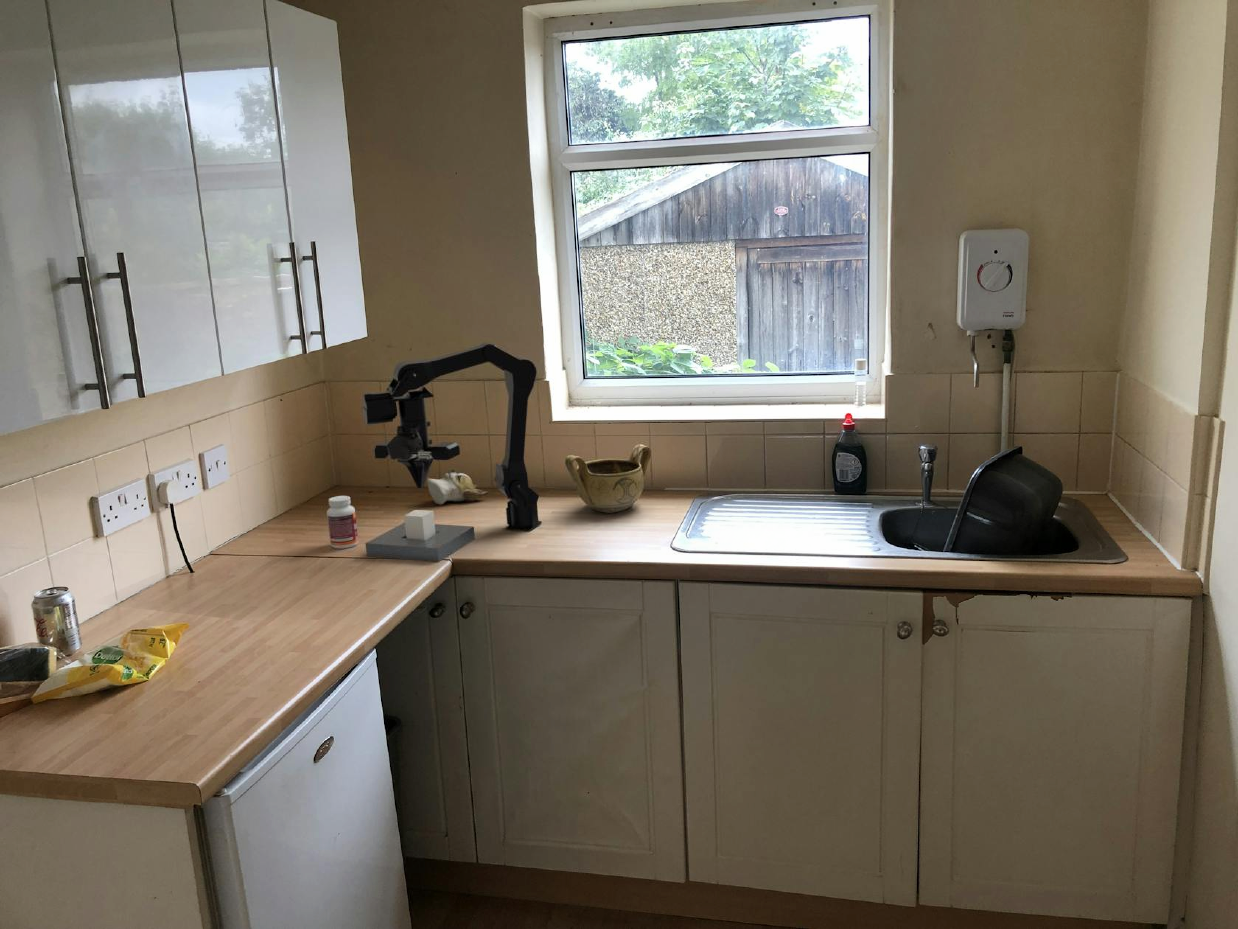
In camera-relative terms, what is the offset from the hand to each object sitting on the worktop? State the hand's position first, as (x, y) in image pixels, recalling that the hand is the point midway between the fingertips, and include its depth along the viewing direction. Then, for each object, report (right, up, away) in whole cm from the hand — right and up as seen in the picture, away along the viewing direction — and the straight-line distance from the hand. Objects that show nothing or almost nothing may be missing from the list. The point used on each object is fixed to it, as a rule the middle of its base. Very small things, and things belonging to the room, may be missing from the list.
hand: (420, 488), depth 222 cm
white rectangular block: (0, -13, 0) cm, 13 cm away
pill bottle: (-18, -13, +5) cm, 23 cm away
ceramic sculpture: (+2, -5, +38) cm, 38 cm away
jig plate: (0, -13, 0) cm, 13 cm away
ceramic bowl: (+42, -6, +23) cm, 48 cm away
